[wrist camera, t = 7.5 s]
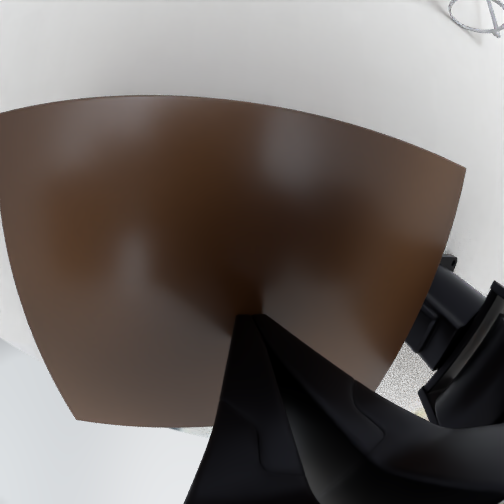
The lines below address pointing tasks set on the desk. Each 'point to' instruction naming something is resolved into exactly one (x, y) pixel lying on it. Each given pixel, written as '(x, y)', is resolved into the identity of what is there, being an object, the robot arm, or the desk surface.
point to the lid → (211, 243)
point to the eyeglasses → (496, 28)
